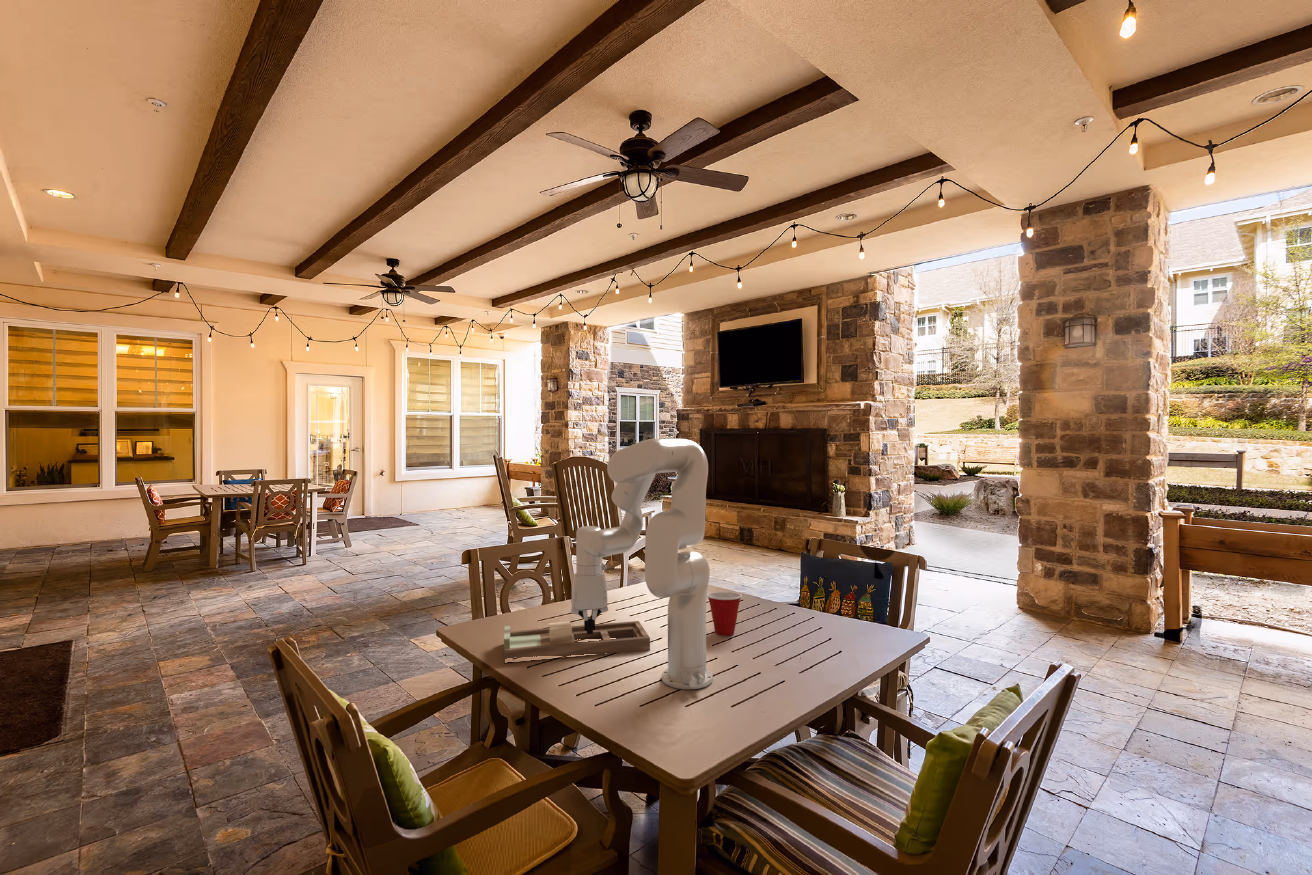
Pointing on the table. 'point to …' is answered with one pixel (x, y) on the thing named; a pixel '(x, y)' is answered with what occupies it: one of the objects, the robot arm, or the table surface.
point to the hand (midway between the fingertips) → (589, 632)
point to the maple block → (560, 632)
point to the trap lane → (538, 642)
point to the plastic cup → (724, 611)
